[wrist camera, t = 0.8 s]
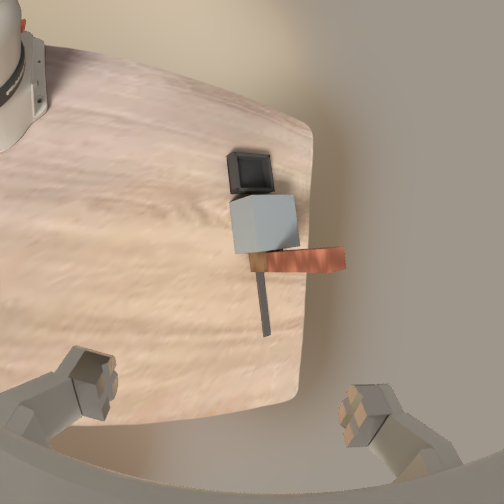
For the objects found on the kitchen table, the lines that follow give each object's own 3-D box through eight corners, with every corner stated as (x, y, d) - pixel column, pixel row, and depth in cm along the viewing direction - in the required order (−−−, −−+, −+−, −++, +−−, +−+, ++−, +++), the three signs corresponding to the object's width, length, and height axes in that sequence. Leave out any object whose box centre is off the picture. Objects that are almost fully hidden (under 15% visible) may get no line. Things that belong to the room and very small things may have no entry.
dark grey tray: (226, 156, 55) (233, 152, 53) (262, 158, 59) (269, 155, 57) (230, 194, 55) (238, 191, 53) (266, 193, 59) (274, 191, 57)
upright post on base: (244, 215, 55) (319, 196, 40) (264, 214, 58) (340, 197, 43) (251, 272, 55) (328, 273, 41) (271, 268, 58) (348, 268, 43)
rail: (246, 196, 57) (247, 195, 56) (252, 196, 57) (254, 195, 57) (263, 336, 57) (264, 336, 57) (269, 334, 58) (270, 334, 58)
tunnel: (229, 202, 54) (251, 194, 49) (269, 201, 60) (293, 194, 54) (235, 253, 55) (258, 252, 49) (275, 248, 60) (300, 246, 54)
